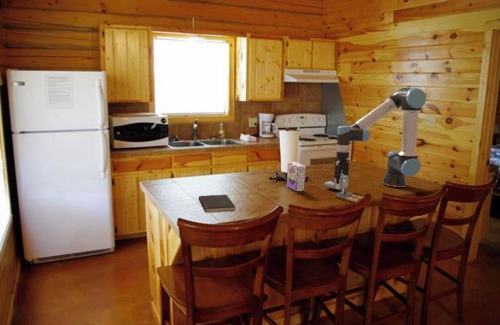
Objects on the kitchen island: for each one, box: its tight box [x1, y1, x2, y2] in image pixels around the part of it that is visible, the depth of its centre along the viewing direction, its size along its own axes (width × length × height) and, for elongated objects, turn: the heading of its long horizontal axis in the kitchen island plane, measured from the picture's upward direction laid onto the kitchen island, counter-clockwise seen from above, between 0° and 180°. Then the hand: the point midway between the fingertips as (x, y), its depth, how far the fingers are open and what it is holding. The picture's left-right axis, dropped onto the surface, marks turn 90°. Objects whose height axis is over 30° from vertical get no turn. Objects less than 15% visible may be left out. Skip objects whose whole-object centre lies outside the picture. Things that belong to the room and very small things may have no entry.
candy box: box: [286, 161, 306, 192], centre depth 251 cm, size 14×6×16 cm, turn 21°
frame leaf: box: [346, 193, 364, 202], centre depth 232 cm, size 9×7×2 cm
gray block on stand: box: [335, 179, 354, 198], centre depth 236 cm, size 7×7×11 cm
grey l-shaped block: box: [323, 173, 350, 191], centre depth 252 cm, size 6×13×8 cm, turn 48°
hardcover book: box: [198, 194, 236, 212], centre depth 218 cm, size 16×23×2 cm
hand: (341, 187), depth 250 cm, fingers closed on grey l-shaped block, 6 cm apart
